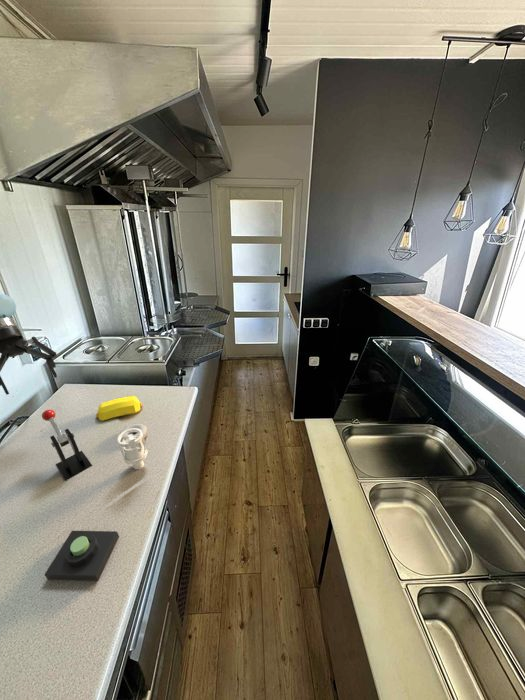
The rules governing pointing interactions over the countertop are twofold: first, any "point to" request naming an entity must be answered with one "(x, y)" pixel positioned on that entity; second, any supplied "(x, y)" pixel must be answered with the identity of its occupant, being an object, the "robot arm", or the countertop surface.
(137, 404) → the yellow bar
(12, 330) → the robot arm
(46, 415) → the lever
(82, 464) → the bracket
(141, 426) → the donut
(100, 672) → the countertop surface
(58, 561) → the black base plate
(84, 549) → the button
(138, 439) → the white tall carved piece
